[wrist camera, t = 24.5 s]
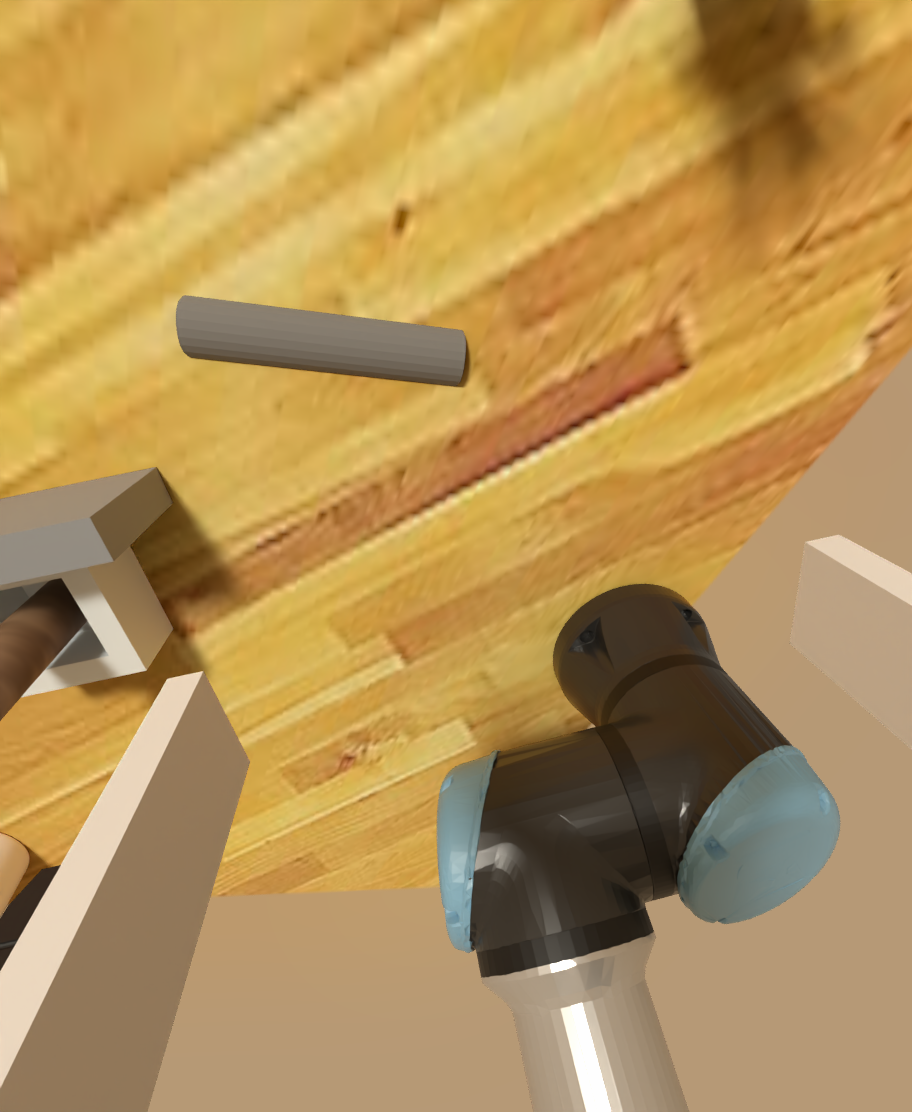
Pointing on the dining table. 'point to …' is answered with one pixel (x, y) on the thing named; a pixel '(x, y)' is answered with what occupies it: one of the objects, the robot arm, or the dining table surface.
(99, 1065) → the robot arm
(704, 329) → the dining table surface
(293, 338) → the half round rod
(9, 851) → the candle holder
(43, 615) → the dowel
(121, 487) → the wall
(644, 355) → the dining table surface
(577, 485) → the dining table surface
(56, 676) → the white square open box
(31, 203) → the dining table surface
